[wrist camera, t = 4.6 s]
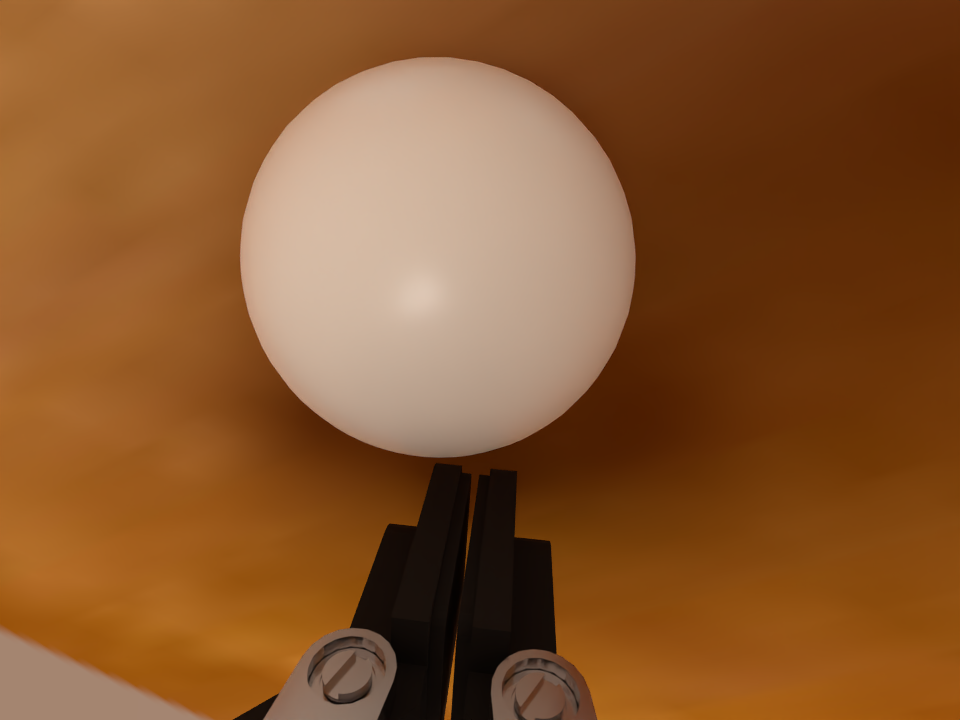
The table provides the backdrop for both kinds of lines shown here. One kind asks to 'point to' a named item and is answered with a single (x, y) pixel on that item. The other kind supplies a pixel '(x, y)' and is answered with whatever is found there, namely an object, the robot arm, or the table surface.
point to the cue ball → (437, 257)
